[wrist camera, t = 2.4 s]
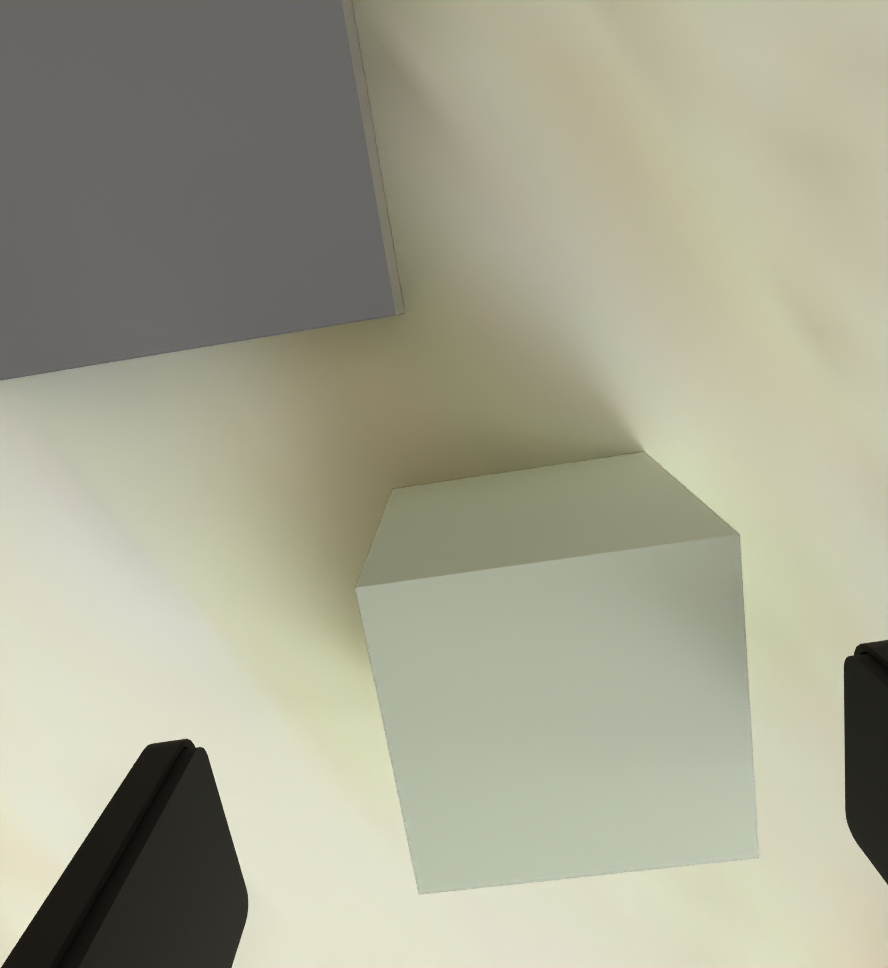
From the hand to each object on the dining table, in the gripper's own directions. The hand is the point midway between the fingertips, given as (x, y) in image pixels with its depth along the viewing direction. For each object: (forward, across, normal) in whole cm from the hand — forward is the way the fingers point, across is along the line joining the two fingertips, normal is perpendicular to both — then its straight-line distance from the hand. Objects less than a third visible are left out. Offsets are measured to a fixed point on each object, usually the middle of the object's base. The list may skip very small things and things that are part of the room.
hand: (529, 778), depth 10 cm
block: (+7, -1, 0) cm, 8 cm away
